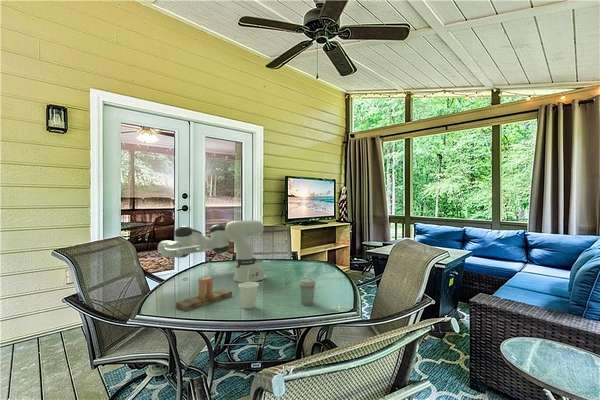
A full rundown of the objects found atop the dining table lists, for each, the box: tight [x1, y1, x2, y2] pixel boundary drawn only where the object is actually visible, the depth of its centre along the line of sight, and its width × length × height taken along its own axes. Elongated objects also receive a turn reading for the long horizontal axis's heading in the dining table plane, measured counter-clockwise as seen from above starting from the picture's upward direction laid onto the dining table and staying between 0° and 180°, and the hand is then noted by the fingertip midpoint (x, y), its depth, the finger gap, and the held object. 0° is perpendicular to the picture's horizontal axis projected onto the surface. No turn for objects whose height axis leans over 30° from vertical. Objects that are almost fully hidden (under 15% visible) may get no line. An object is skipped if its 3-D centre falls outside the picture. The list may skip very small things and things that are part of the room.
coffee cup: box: [298, 277, 316, 306], centre depth 152 cm, size 8×8×12 cm
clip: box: [198, 276, 214, 300], centre depth 154 cm, size 6×4×12 cm, turn 143°
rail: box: [175, 288, 233, 312], centre depth 154 cm, size 28×8×2 cm, turn 143°
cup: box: [238, 281, 259, 310], centre depth 147 cm, size 10×10×11 cm
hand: (191, 251), depth 160 cm, fingers open, 8 cm apart
